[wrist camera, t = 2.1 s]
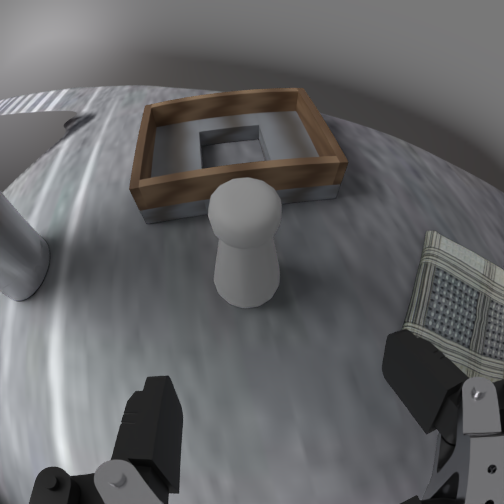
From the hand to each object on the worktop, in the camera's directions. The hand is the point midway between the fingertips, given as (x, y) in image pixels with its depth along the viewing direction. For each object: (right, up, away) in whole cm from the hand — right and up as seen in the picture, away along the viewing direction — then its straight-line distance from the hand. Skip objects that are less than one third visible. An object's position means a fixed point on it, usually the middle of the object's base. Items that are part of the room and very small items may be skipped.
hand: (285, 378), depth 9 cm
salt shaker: (-2, +1, +18) cm, 18 cm away
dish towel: (+24, -4, +16) cm, 29 cm away
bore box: (-3, +16, +26) cm, 31 cm away
